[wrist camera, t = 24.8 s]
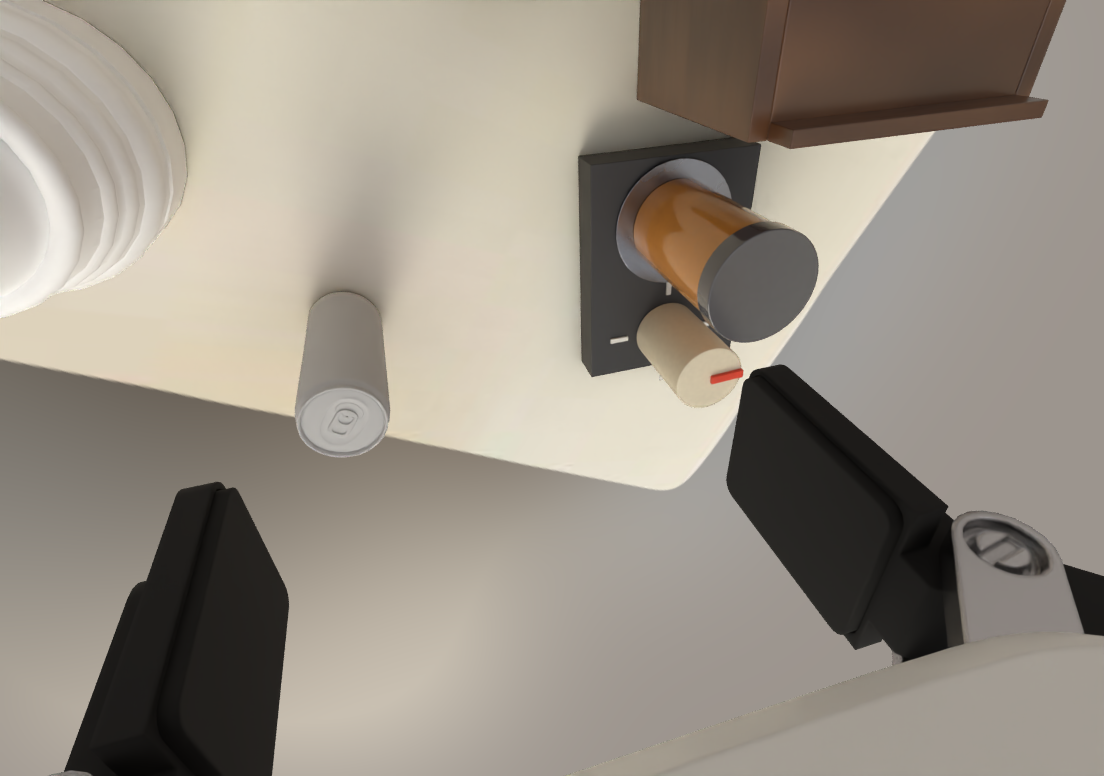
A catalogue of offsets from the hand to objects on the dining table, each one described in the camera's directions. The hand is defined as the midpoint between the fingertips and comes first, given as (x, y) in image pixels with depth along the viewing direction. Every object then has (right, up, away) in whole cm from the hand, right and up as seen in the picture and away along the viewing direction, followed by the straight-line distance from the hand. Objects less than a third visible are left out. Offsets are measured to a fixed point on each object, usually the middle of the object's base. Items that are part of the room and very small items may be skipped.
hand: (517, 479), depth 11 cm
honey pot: (-26, +15, +19) cm, 35 cm away
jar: (+9, +13, +29) cm, 33 cm away
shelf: (+14, +26, +25) cm, 39 cm away
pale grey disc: (+9, +13, +29) cm, 33 cm away
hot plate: (+8, +12, +33) cm, 36 cm away
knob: (+9, +6, +34) cm, 36 cm away
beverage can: (-14, +6, +29) cm, 33 cm away
